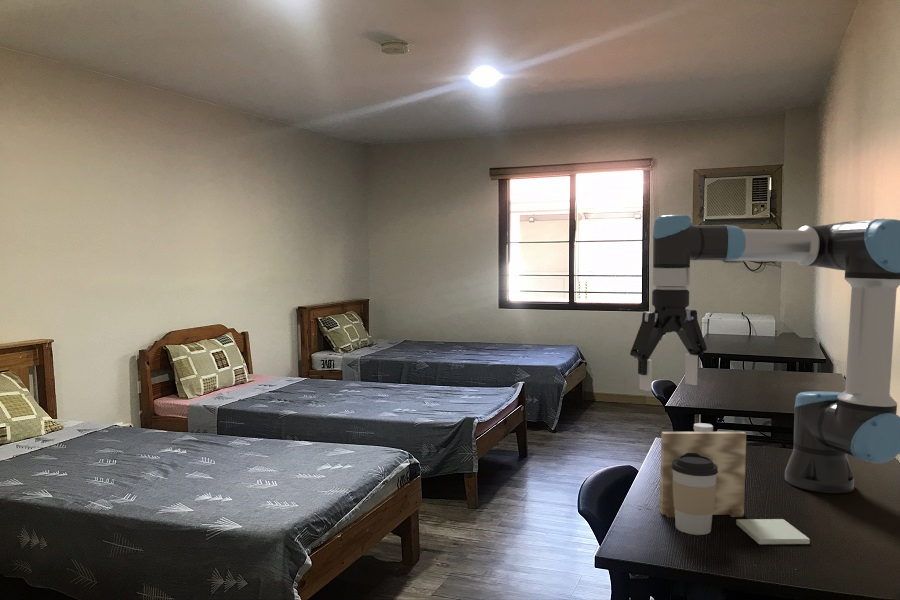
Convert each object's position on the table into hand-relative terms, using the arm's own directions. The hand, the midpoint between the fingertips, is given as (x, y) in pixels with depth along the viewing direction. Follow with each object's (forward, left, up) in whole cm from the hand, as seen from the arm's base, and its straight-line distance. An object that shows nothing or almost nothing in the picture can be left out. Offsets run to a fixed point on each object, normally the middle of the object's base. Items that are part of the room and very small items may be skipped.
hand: (668, 387), depth 144 cm
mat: (-18, +10, -28) cm, 35 cm away
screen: (-8, -1, -28) cm, 30 cm away
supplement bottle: (-19, -28, -29) cm, 45 cm away
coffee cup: (-3, +7, -29) cm, 29 cm away
